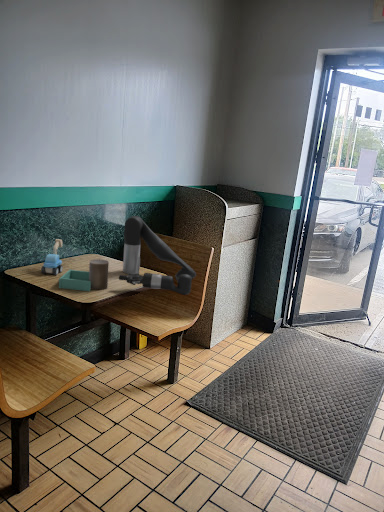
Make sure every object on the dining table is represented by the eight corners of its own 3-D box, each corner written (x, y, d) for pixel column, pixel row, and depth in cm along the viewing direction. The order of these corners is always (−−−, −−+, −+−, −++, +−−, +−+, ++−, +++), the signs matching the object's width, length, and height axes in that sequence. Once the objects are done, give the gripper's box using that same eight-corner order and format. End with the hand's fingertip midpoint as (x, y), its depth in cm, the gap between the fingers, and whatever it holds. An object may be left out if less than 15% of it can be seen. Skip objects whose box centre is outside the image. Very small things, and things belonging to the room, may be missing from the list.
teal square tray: (98, 281, 228) (98, 272, 227) (89, 291, 212) (90, 282, 210) (69, 278, 228) (70, 269, 227) (58, 288, 212) (59, 278, 211)
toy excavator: (67, 268, 245) (68, 239, 241) (55, 276, 229) (56, 245, 225) (52, 266, 246) (53, 237, 241) (40, 274, 229) (40, 243, 225)
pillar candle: (110, 288, 220) (112, 260, 216) (94, 291, 213) (95, 262, 210) (101, 283, 226) (102, 256, 223) (84, 285, 220) (86, 257, 217)
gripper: (150, 291, 212) (116, 288, 213) (153, 283, 225) (121, 280, 225) (151, 277, 211) (116, 273, 211) (154, 270, 223) (122, 266, 224)
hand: (119, 277), depth 218 cm, fingers closed
